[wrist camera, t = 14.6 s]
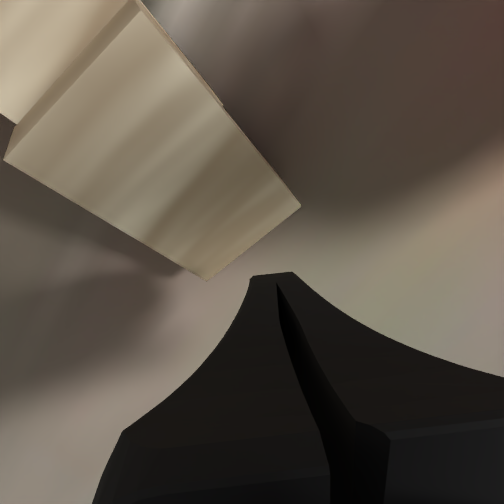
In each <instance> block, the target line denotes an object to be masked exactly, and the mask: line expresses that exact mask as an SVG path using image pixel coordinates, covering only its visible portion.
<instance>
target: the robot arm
mask: <svg viewBox="0 0 504 504" xmlns="http://www.w3.org/2000/svg"><path fill="white" fill-rule="evenodd" d="M92 504H504V377H500V376H496V375H493V374H489V373H485V372H482V371H478V370H474V369H471V368H467V367H464V366H461V365H458V364H455V363H452V362H449V361H446V360H443V359H440V358H437V357H434V356H432V355H429V354H426V353H424V352H421V351H419V350H416V349H413V348H411V347H409V346H406V345H404V344H402V343H400V342H397V341H395V340H393V339H390V338H388V337H386V336H384V335H382V334H380V333H378V332H376V331H374V330H372V329H371V328H369V327H367V326H365V325H363V324H361V323H360V322H358V321H356V320H355V319H353V318H351V317H350V316H348V315H347V314H345V313H344V312H342V311H341V310H339V309H338V308H336V307H335V306H333V305H332V304H330V303H329V302H328V301H326V300H325V299H324V298H323V297H321V296H320V295H319V294H318V293H316V292H315V291H314V290H313V289H312V288H310V287H309V286H308V285H307V284H306V283H305V282H304V281H302V280H301V279H300V278H299V277H298V276H297V275H296V274H294V273H293V272H284V273H275V274H266V275H256V276H252V278H251V279H250V283H249V287H248V290H247V293H246V296H245V298H244V300H243V303H242V305H241V307H240V309H239V311H238V313H237V315H236V317H235V319H234V320H233V322H232V324H231V326H230V327H229V329H228V331H227V332H226V334H225V335H224V337H223V338H222V340H221V341H220V342H219V344H218V345H217V346H216V348H215V349H214V350H213V352H212V353H211V354H210V355H209V356H208V358H207V359H206V360H205V361H204V362H203V363H202V365H201V366H200V367H199V368H198V369H197V370H196V371H195V372H194V373H193V374H192V375H191V376H190V377H189V378H188V379H187V380H186V381H185V382H184V383H183V384H182V385H181V386H180V387H179V388H178V389H176V390H175V391H174V392H173V393H172V394H171V395H170V396H168V397H167V398H166V399H165V400H164V401H162V402H161V403H160V404H158V405H157V406H156V407H154V408H153V409H152V410H150V411H149V412H148V413H146V414H145V415H144V416H142V417H141V418H140V419H138V420H137V421H136V422H134V423H133V424H132V425H130V426H129V427H127V428H126V429H125V430H123V431H122V433H121V435H120V437H119V439H118V442H117V444H116V446H115V448H114V450H113V452H112V454H111V456H110V458H109V460H108V463H107V465H106V467H105V469H104V472H103V474H102V476H101V479H100V482H99V485H98V488H97V491H96V494H95V497H94V499H93V502H92Z"/></svg>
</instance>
